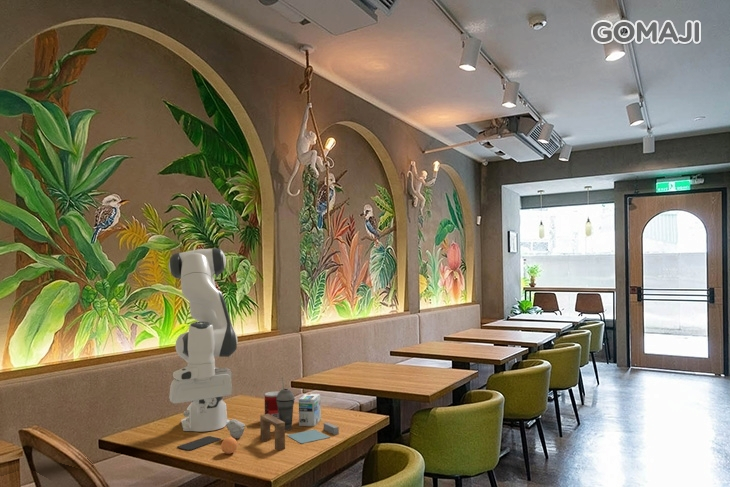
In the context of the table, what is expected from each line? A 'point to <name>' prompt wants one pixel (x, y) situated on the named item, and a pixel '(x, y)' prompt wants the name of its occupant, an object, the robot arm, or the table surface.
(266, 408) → the canned food
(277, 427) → the bridge
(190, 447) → the phone
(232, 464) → the table surface
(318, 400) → the light bulb box
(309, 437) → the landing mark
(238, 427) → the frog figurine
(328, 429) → the wall
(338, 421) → the table surface
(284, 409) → the beverage cup
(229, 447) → the ball
